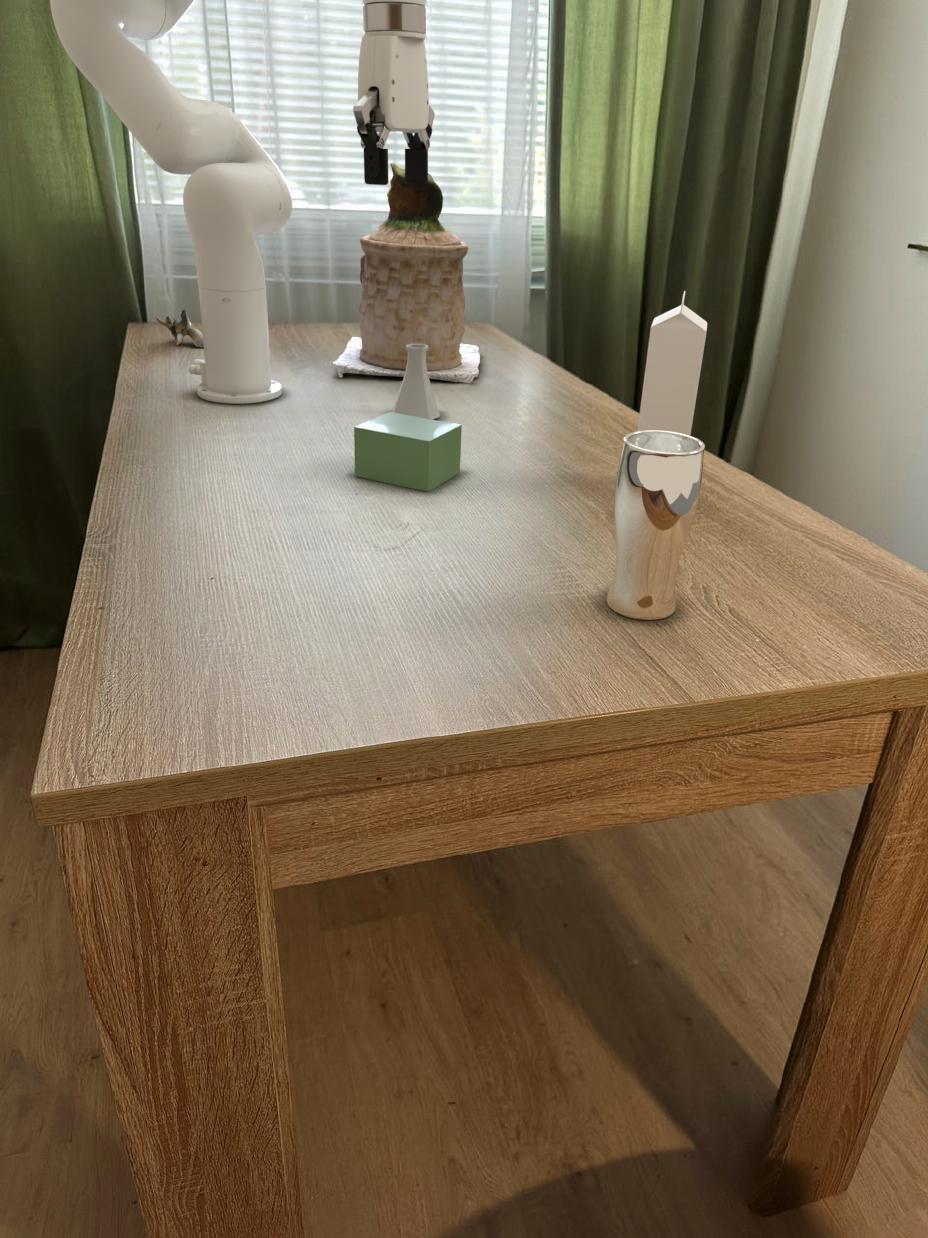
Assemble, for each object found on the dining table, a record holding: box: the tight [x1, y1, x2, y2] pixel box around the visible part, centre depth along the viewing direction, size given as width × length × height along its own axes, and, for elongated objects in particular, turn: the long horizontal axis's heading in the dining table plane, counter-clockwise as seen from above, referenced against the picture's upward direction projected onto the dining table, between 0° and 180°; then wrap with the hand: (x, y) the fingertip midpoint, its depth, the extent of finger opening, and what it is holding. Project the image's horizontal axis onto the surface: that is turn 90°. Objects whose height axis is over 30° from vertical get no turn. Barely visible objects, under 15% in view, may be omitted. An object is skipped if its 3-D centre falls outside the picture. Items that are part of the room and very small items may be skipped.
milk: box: [637, 290, 708, 436], centre depth 106 cm, size 6×6×22 cm
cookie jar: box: [332, 162, 482, 384], centre depth 155 cm, size 25×25×32 cm
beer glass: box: [606, 430, 706, 621], centre depth 79 cm, size 7×7×15 cm
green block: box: [353, 411, 463, 493], centre depth 109 cm, size 10×8×6 cm
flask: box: [391, 344, 441, 420], centre depth 131 cm, size 7×7×10 cm
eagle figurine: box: [155, 308, 204, 349], centre depth 170 cm, size 8×7×9 cm
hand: (397, 183), depth 118 cm, fingers open, 9 cm apart
